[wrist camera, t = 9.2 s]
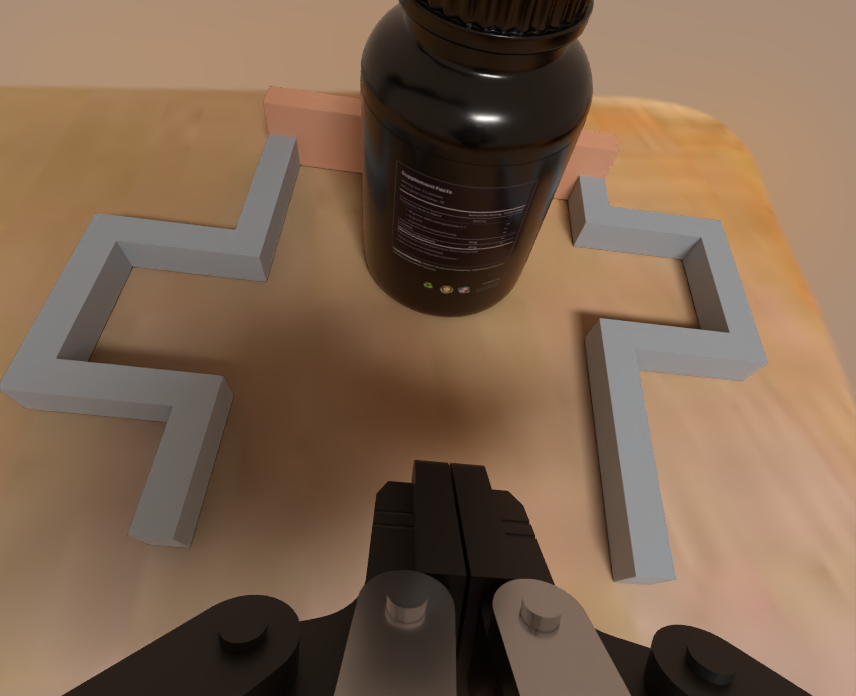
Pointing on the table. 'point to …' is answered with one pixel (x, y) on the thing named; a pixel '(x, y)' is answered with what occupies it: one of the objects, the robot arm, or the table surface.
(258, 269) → the grey zigzag frame
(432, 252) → the supplement bottle
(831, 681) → the table surface
